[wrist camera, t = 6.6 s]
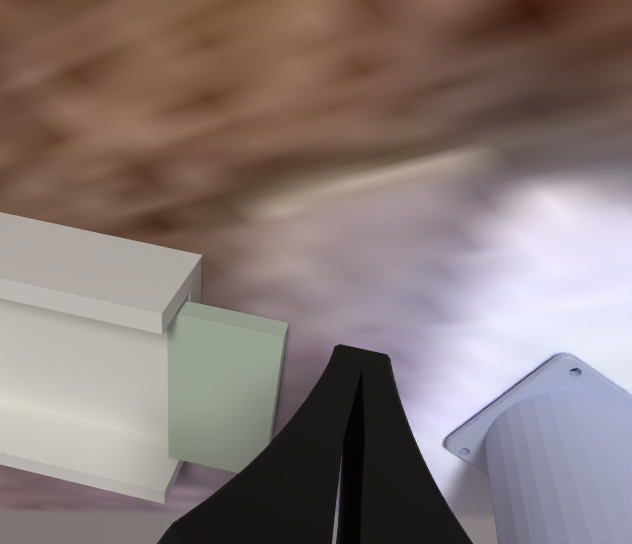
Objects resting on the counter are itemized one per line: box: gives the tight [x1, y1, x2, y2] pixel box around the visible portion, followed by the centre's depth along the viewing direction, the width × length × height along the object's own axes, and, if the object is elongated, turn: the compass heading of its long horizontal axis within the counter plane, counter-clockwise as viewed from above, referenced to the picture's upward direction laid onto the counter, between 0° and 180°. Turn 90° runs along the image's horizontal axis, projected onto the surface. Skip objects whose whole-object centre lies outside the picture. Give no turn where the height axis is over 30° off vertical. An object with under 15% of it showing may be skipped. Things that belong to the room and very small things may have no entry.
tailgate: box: [167, 300, 289, 473], centre depth 25 cm, size 2×9×5 cm
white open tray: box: [0, 212, 202, 504], centre depth 25 cm, size 12×12×4 cm
